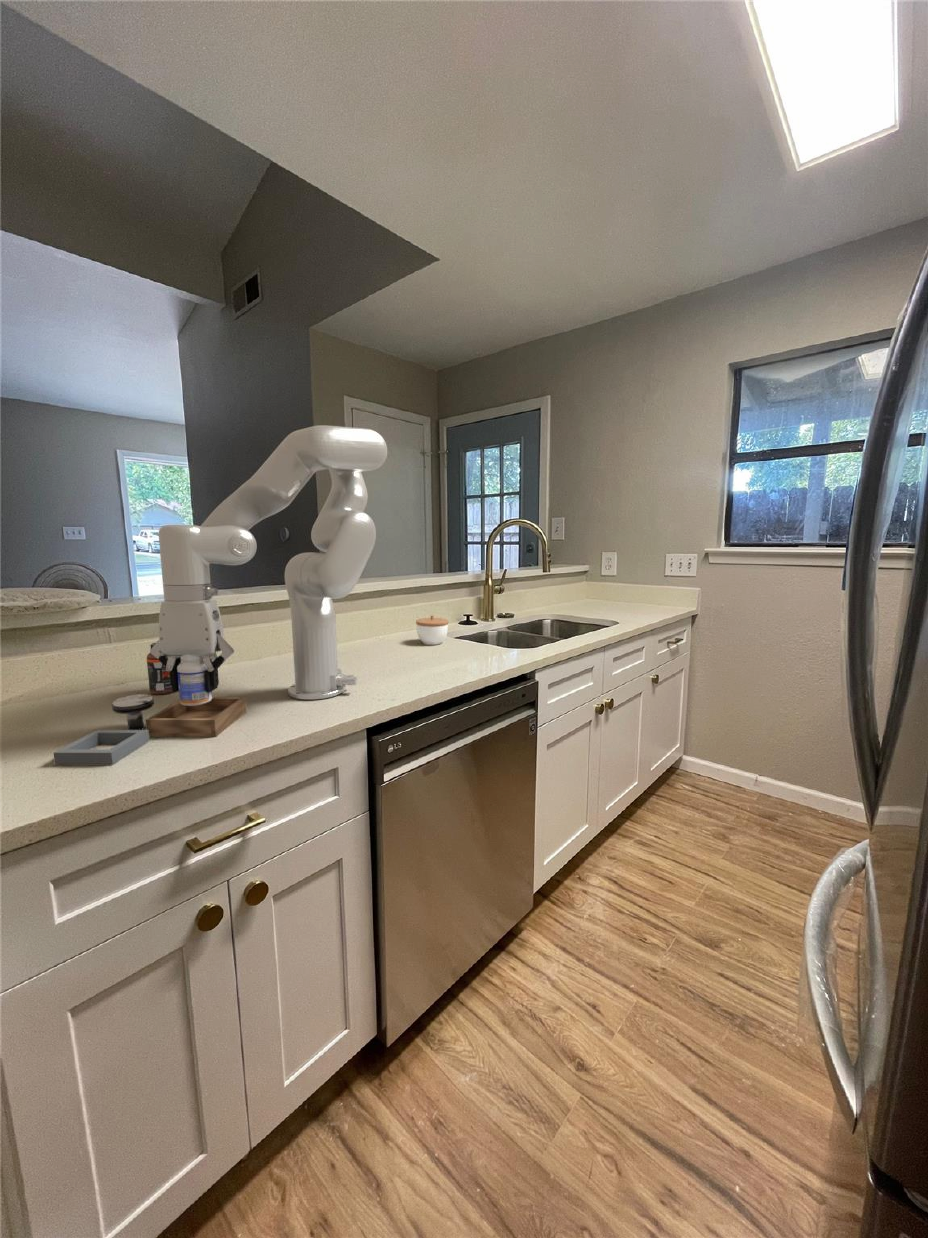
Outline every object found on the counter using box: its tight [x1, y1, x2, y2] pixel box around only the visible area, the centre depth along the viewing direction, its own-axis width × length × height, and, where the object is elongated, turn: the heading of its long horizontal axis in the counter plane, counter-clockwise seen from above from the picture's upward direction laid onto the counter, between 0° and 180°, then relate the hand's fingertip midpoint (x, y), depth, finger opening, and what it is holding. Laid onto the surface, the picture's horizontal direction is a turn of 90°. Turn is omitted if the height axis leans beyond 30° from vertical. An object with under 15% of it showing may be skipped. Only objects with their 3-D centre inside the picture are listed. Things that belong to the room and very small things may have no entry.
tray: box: [145, 696, 247, 738], centre depth 92 cm, size 12×12×3 cm
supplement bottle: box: [146, 642, 174, 695], centre depth 111 cm, size 6×6×11 cm
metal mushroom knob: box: [111, 693, 155, 730], centre depth 90 cm, size 6×6×6 cm
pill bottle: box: [177, 655, 213, 706], centre depth 91 cm, size 5×5×10 cm
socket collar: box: [53, 729, 151, 766], centre depth 80 cm, size 9×9×2 cm
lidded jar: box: [415, 614, 449, 646], centre depth 162 cm, size 11×11×9 cm
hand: (195, 689), depth 91 cm, fingers closed on pill bottle, 5 cm apart
